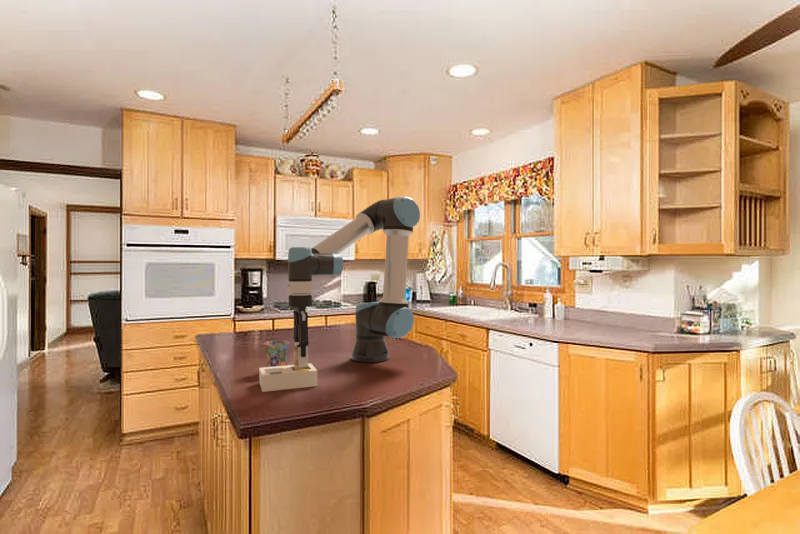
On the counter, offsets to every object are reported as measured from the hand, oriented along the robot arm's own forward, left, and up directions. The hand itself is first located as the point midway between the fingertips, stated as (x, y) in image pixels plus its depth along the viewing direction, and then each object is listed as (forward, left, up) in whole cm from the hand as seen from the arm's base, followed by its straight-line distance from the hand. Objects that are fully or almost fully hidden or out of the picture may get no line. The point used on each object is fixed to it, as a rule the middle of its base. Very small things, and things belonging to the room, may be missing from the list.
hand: (300, 363), depth 150 cm
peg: (0, 0, -5) cm, 5 cm away
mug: (+6, -20, -7) cm, 22 cm away
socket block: (+4, 0, -6) cm, 8 cm away
